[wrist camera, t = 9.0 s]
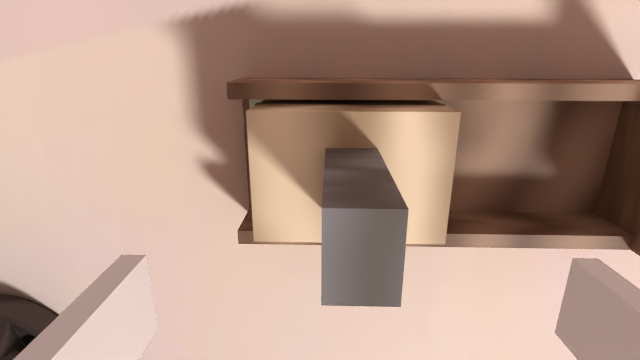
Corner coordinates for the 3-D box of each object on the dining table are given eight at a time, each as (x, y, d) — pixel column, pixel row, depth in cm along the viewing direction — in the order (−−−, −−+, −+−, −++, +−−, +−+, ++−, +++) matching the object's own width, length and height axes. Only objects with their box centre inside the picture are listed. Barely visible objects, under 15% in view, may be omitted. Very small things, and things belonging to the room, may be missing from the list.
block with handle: (268, 206, 29) (208, 347, 15) (263, 98, 27) (185, 146, 12) (423, 208, 29) (512, 355, 15) (433, 99, 26) (554, 149, 12)
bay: (252, 216, 31) (226, 268, 23) (243, 78, 27) (210, 86, 20) (597, 220, 30) (688, 275, 22) (633, 79, 26) (755, 88, 19)
